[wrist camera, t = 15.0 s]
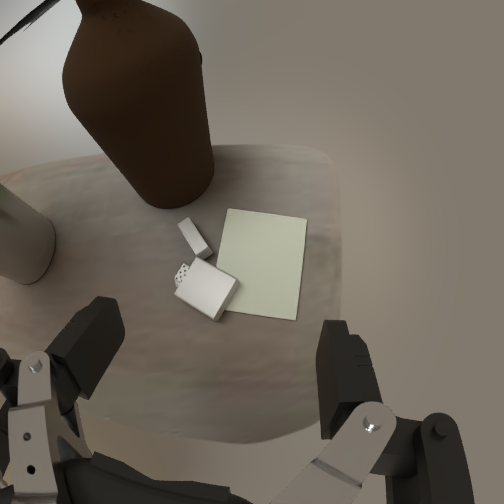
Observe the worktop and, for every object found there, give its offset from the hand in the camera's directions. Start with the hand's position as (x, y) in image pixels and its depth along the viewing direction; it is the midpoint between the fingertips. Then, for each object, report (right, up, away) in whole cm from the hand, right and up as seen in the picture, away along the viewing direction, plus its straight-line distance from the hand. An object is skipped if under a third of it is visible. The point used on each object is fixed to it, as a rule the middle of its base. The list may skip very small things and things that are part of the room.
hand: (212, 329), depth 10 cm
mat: (+2, +2, +17) cm, 17 cm away
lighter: (0, 0, +15) cm, 15 cm away
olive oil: (-7, +12, +21) cm, 25 cm away
